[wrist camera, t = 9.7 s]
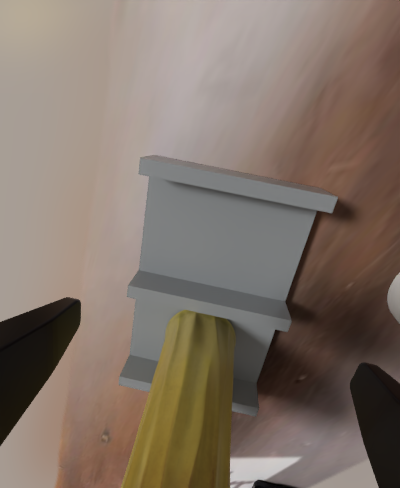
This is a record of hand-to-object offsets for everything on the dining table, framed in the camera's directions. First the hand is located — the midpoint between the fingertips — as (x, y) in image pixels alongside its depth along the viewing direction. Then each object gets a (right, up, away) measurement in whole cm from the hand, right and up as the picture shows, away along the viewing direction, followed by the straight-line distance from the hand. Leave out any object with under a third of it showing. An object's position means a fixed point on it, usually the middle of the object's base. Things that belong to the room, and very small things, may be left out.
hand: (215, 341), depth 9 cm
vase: (0, -5, +15) cm, 16 cm away
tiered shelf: (0, 0, +14) cm, 14 cm away
